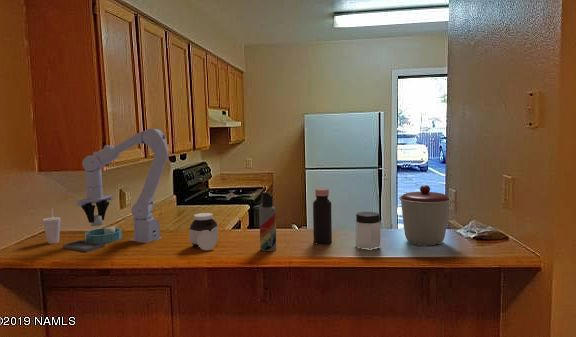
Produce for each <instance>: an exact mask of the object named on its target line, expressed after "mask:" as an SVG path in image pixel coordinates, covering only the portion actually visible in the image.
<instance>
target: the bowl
mask: <svg viewBox="0 0 576 337" xmlns="http://www.w3.org/2000/svg"><path fill="white" fill-rule="evenodd" d="M104 228H105V227H101V228H94V229H91V230H87V231H86V232H84V241H90V242H96V243H103V244H107V243H113V242H117V241H119V240H121V239H122V238H123V231H122V229H121V228H119V227H115V233H111V234H105V235H104Z"/></svg>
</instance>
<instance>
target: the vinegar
mask: <svg viewBox="0 0 576 337" xmlns="http://www.w3.org/2000/svg"><path fill="white" fill-rule="evenodd" d="M329 191H330V189H328V188H316V189H315V190H314V192H315V197H316V199H314V201H313V203H312V206H313V207H312V216H313V217H312V221H313V222H312V224H313V227H312V228H313V243H314V244H315V243H317V244H316V245H319V244H327V245H330V244H332V241H333V240H332V239H333V236H332V235H333V234H332V232H333V230H332V227H333V226H332V201H331V200H330V199H328V198H329V194H330V192H329ZM329 243H330V244H329Z"/></svg>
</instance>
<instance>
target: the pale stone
mask: <svg viewBox="0 0 576 337" xmlns="http://www.w3.org/2000/svg"><path fill="white" fill-rule="evenodd" d="M103 228H104V235H105V234H111V233H115V228H116V227H115V226H107V227H103Z"/></svg>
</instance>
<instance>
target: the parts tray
mask: <svg viewBox="0 0 576 337" xmlns="http://www.w3.org/2000/svg"><path fill="white" fill-rule="evenodd" d="M105 244H106V243H96V242H90V241H85V239H84V240H83V239H79V240H76V241H72V242H68V243H65V244H62V248H63V249H68V250H72V251H73V250H74V251H78V252H84V253H85V252H86V253H89V252H92V251H96V250H99V249H102V248H105V246H106V245H105Z"/></svg>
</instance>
